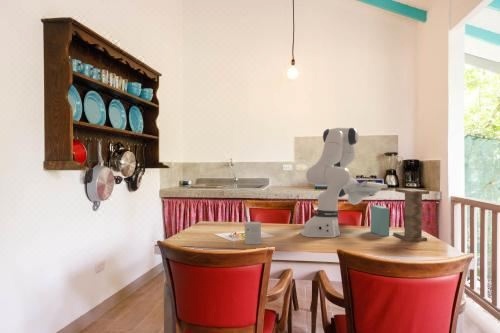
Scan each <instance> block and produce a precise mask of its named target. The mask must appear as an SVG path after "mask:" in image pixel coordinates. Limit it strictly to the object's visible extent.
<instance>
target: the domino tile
mask: <svg viewBox="0 0 500 333" xmlns="http://www.w3.org/2000/svg"><path fill="white" fill-rule="evenodd" d="M380 183H381V182H375V183H373V182H372V181H367V184H366V186H371V187H377V188H382V189H388V184H386V183H385V184H384V183H381V184H380Z"/></svg>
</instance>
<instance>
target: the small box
mask: <svg viewBox="0 0 500 333" xmlns="http://www.w3.org/2000/svg"><path fill="white" fill-rule="evenodd" d="M261 226H262V225H261V221H246V222H245V223H244V245H261V242H262V238H261V237H262V236H261V230H262V229H261V228H262V227H261Z"/></svg>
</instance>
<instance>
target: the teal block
mask: <svg viewBox="0 0 500 333" xmlns="http://www.w3.org/2000/svg"><path fill="white" fill-rule="evenodd" d="M370 232H372V233H375V235H378V236H380V237H382V236H383V237H385V236H390V208H389V207H386V206H382V205H377V204H376V205H370Z"/></svg>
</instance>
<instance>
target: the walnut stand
mask: <svg viewBox="0 0 500 333" xmlns="http://www.w3.org/2000/svg"><path fill="white" fill-rule="evenodd" d="M394 190H395V192H397V193H402V194H404V231H403V232H402V231H400V232H396V231H395V232H393V234H392V235H393V236H395V237H397V238H399V239H401V240H404V241H406V242H423V241H424V242H427V241H428V237H426V236H423V235H422V234H423V233H422V232H423V231H422V230H423V229H422V228H423V226H422V225H423V195H429V194H430V191H429V190H424V189H416V188H395V189H394Z"/></svg>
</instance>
